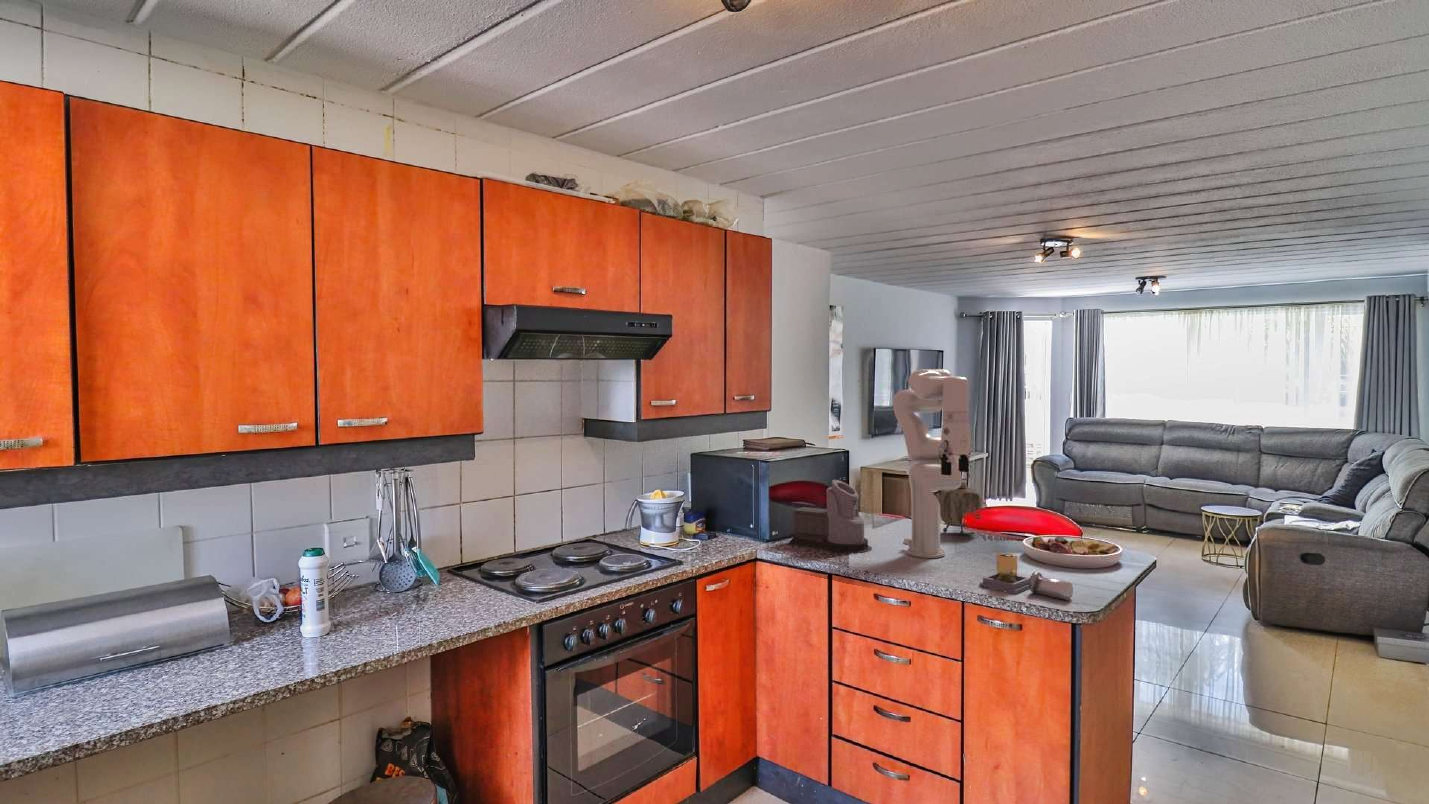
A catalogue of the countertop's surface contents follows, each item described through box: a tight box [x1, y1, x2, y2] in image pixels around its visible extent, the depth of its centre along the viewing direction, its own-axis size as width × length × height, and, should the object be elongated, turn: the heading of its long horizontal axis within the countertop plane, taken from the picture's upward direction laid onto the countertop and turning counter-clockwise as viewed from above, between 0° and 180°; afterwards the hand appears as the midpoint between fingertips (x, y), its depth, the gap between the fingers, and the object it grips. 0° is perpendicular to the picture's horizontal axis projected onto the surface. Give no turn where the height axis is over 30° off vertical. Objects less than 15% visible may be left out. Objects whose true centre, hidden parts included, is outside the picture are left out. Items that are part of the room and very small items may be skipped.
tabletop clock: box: [939, 471, 983, 536], centre depth 287 cm, size 14×9×25 cm, turn 85°
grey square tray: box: [979, 572, 1030, 595], centre depth 217 cm, size 11×11×2 cm
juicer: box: [787, 479, 873, 555], centre depth 270 cm, size 30×16×24 cm, turn 57°
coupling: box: [995, 552, 1018, 583], centre depth 217 cm, size 6×6×8 cm
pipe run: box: [1029, 571, 1074, 601], centre depth 207 cm, size 10×6×6 cm, turn 40°
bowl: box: [1022, 534, 1123, 569], centre depth 248 cm, size 30×30×8 cm
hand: (955, 473), depth 227 cm, fingers open, 9 cm apart
